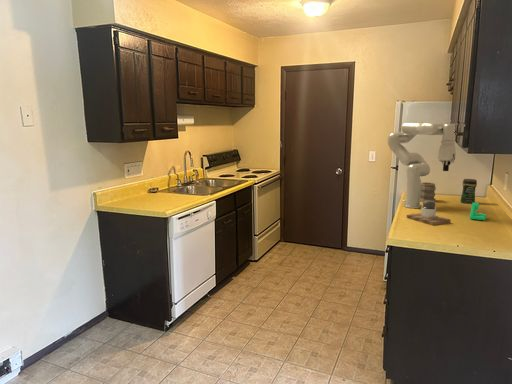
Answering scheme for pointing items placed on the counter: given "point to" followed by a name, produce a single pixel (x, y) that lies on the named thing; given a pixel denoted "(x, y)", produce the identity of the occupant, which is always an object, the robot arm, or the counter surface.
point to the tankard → (427, 191)
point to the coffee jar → (468, 191)
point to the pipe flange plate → (428, 217)
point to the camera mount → (476, 215)
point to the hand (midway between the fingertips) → (445, 170)
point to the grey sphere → (429, 204)
